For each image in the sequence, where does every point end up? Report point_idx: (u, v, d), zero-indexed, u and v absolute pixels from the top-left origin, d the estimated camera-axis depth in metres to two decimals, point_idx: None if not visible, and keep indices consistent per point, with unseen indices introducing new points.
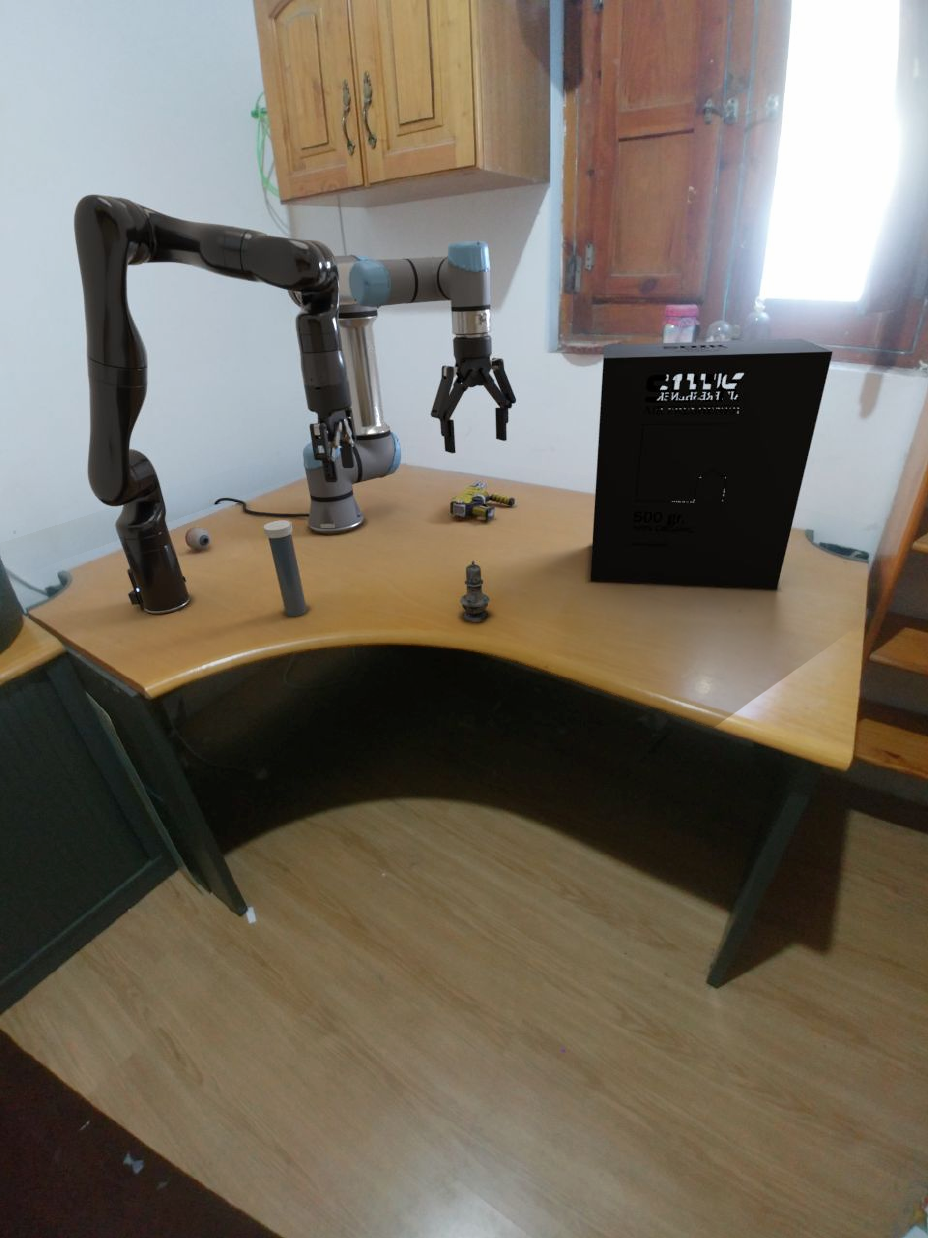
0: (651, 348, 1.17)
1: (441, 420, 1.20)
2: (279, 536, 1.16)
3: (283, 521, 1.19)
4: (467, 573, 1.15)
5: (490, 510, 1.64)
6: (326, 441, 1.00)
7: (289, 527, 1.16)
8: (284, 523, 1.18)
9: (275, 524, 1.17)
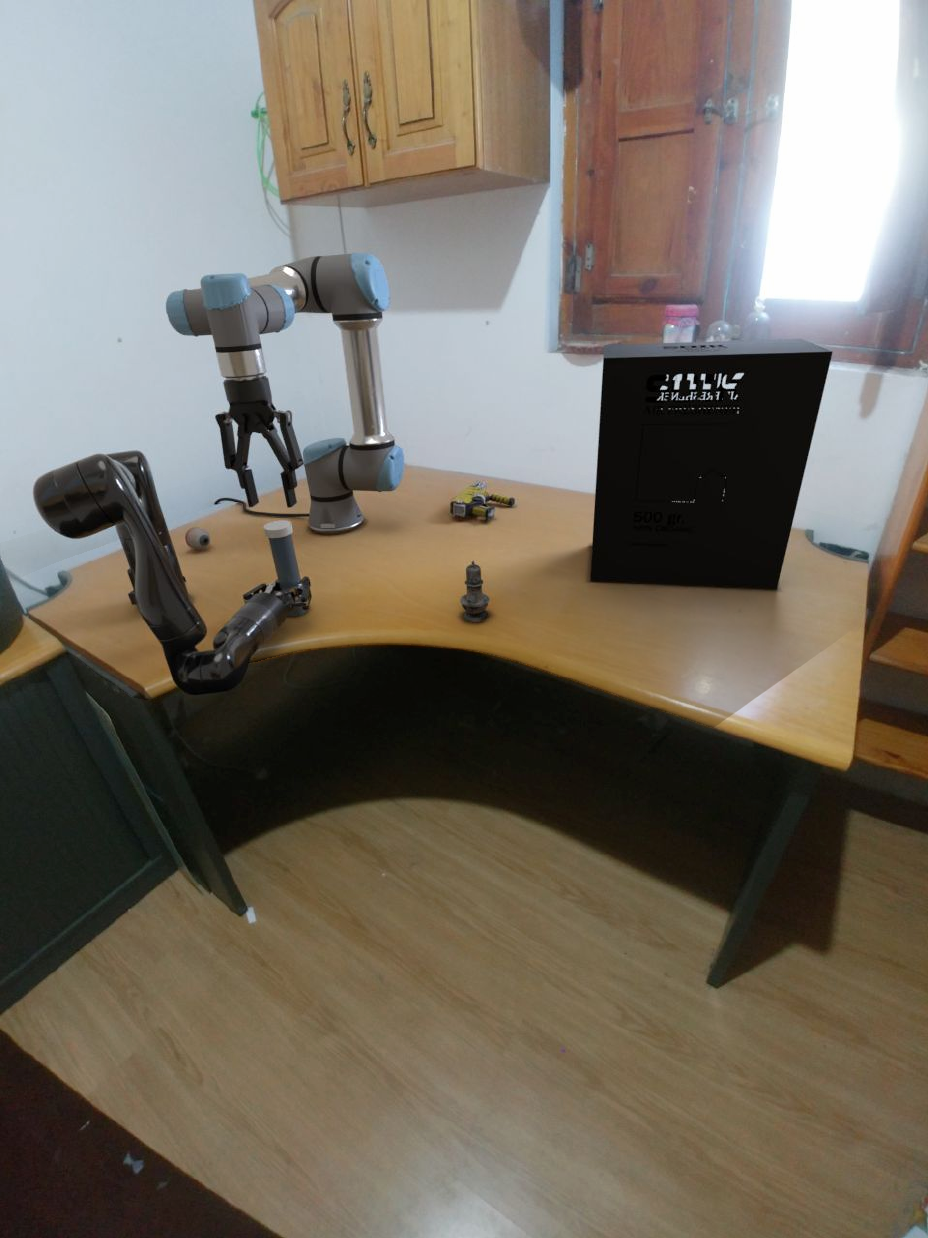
0: (651, 348, 1.17)
1: (293, 470, 1.11)
2: (279, 536, 1.16)
3: (283, 521, 1.19)
4: (467, 573, 1.15)
5: (490, 510, 1.64)
6: None
7: (289, 527, 1.16)
8: (284, 523, 1.18)
9: (275, 524, 1.17)
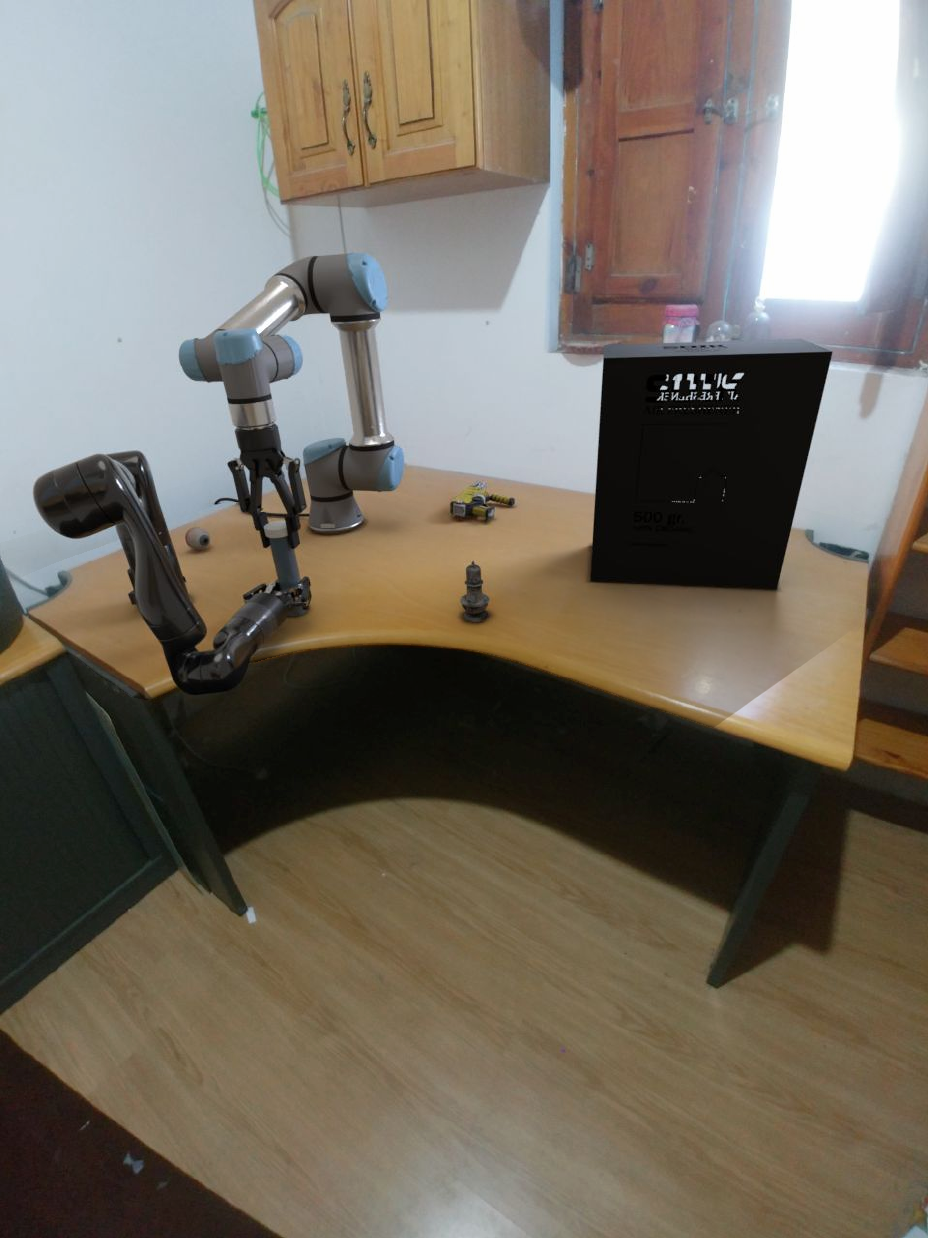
0: (651, 348, 1.17)
1: (297, 514, 1.15)
2: (279, 536, 1.16)
3: (283, 521, 1.19)
4: (467, 573, 1.15)
5: (490, 510, 1.64)
6: None
7: None
8: (284, 523, 1.18)
9: (275, 524, 1.17)
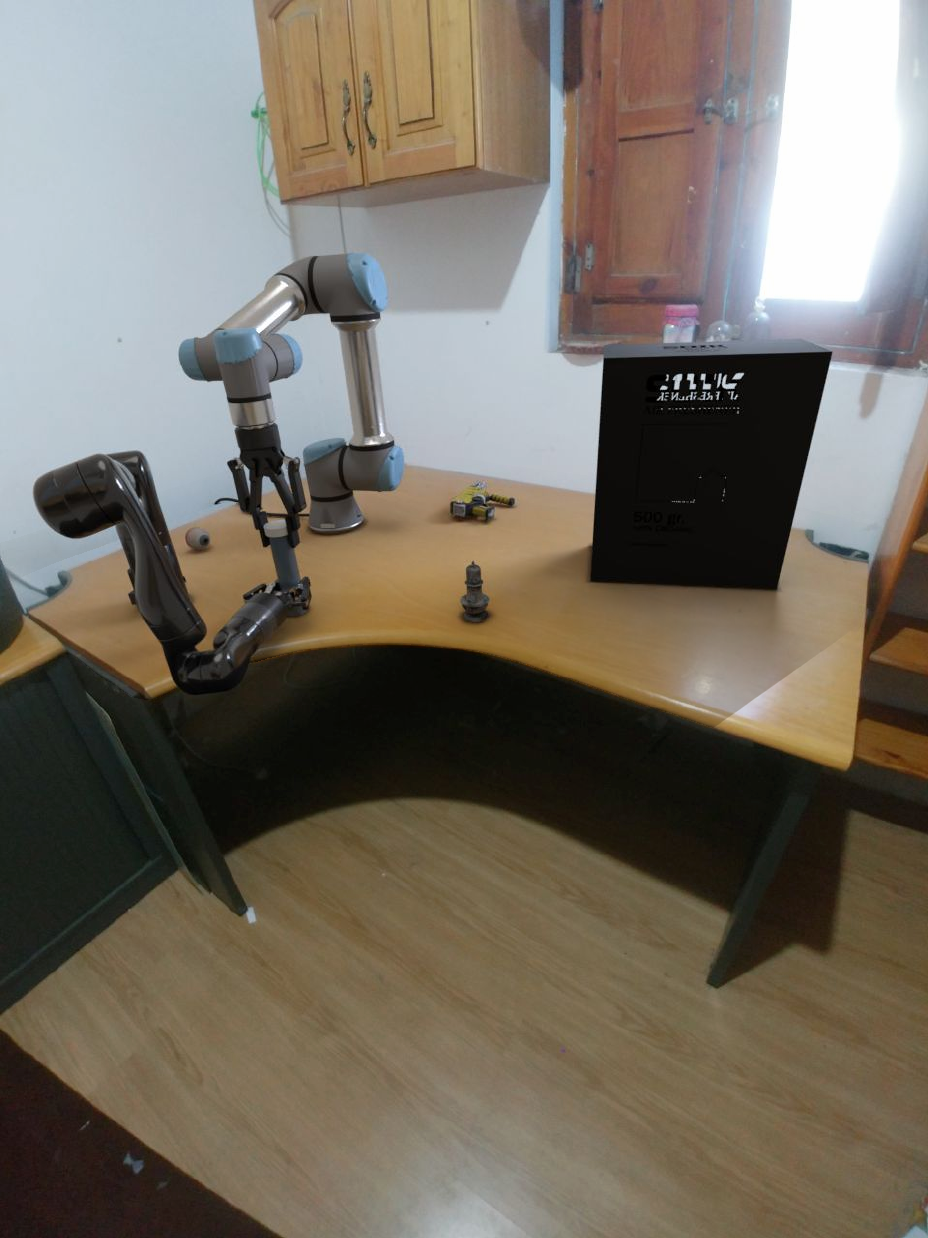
0: (651, 348, 1.17)
1: (297, 513, 1.15)
2: None
3: (267, 524, 1.17)
4: (467, 573, 1.15)
5: (490, 510, 1.64)
6: None
7: None
8: (274, 522, 1.18)
9: (274, 525, 1.16)
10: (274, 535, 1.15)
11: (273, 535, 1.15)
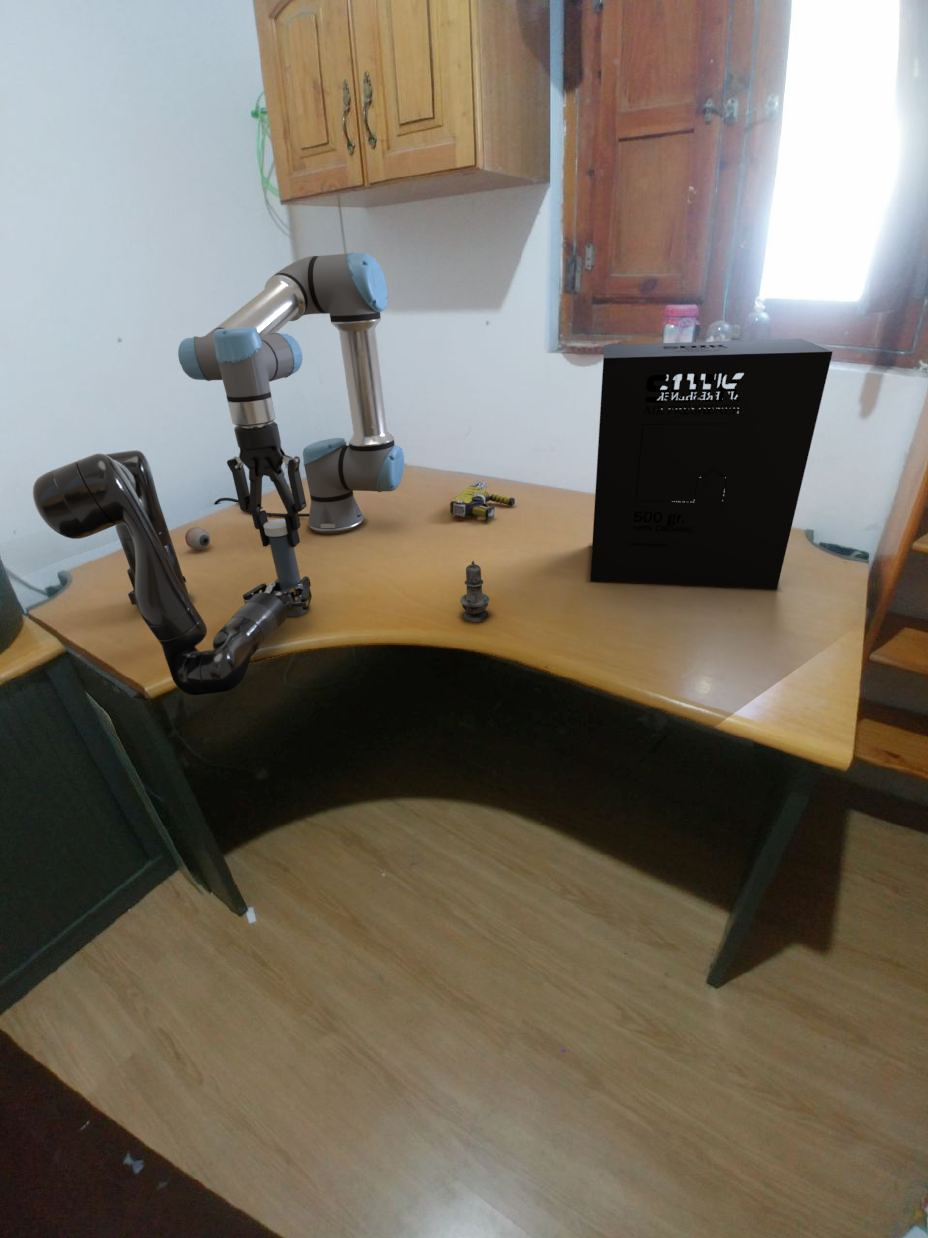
0: (651, 348, 1.17)
1: (297, 512, 1.15)
2: None
3: (274, 527, 1.15)
4: (467, 573, 1.15)
5: (490, 510, 1.64)
6: None
7: None
8: (271, 526, 1.16)
9: (279, 523, 1.17)
10: None
11: None
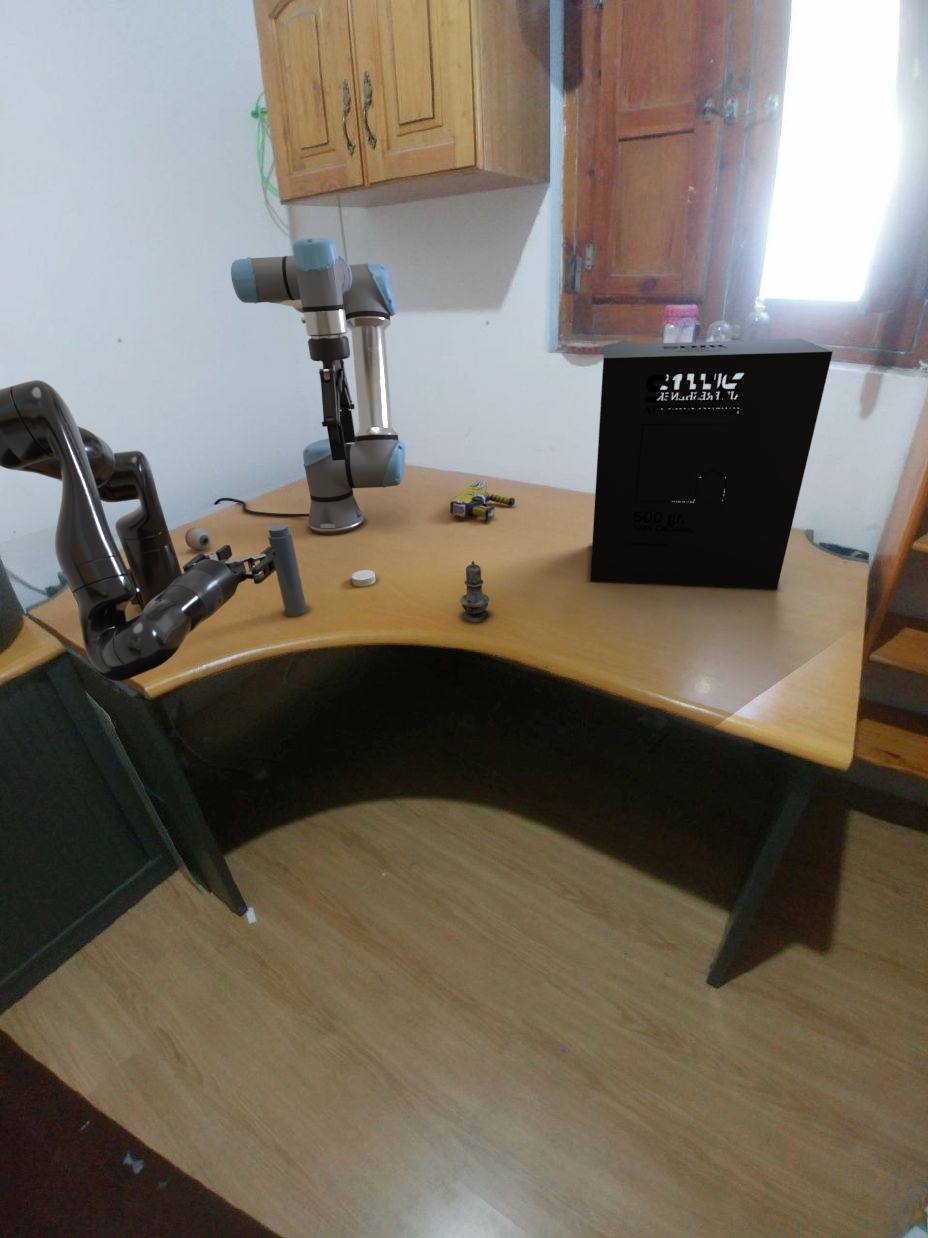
0: (651, 348, 1.17)
1: None
2: (373, 582, 1.36)
3: (360, 571, 1.38)
4: (467, 573, 1.15)
5: (490, 510, 1.64)
6: None
7: None
8: (365, 572, 1.38)
9: (360, 575, 1.37)
10: (353, 582, 1.36)
11: (353, 582, 1.36)
